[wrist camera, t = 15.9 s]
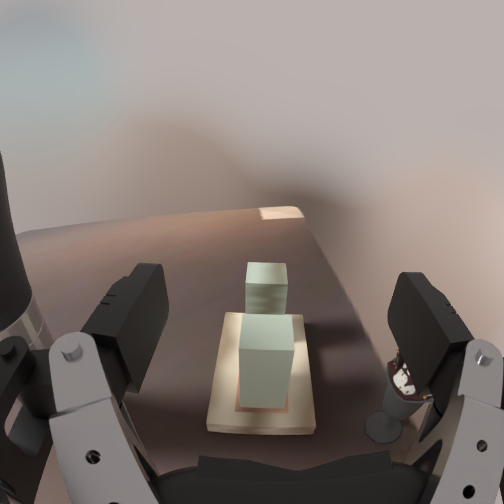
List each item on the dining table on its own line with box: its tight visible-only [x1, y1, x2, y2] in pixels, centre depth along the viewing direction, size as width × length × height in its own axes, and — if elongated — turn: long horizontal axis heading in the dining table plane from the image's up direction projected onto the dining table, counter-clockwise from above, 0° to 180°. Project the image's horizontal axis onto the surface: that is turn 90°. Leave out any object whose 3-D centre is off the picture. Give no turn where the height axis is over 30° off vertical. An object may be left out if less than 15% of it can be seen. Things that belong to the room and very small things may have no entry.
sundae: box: [365, 349, 433, 443], centre depth 25 cm, size 7×7×15 cm
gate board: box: [206, 262, 316, 435], centre depth 35 cm, size 12×20×12 cm, turn 177°
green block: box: [239, 314, 295, 408], centre depth 30 cm, size 5×5×10 cm
